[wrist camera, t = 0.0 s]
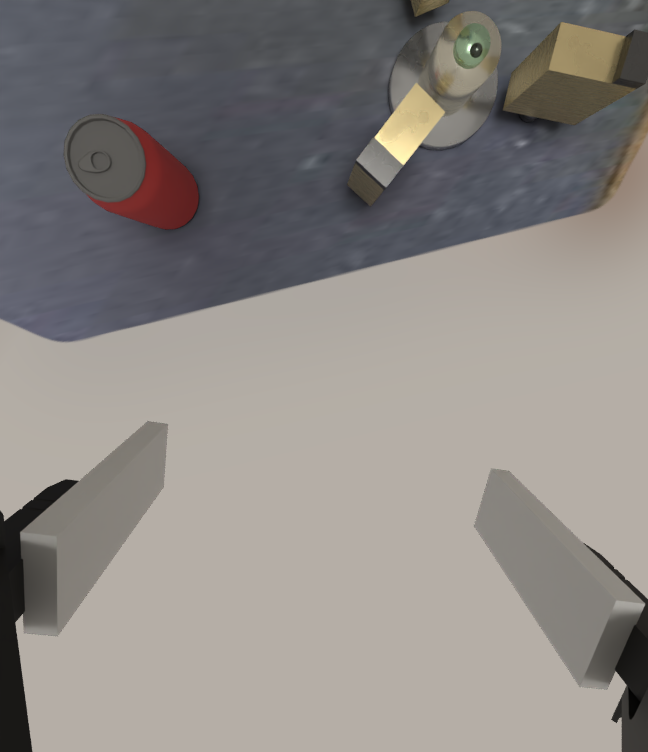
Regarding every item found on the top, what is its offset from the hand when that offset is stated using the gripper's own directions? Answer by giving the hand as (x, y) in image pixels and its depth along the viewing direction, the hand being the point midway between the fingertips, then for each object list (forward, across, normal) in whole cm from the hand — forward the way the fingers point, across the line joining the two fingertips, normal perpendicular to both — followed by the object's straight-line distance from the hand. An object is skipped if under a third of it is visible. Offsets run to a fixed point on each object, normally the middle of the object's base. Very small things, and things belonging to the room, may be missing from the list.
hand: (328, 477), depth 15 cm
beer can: (+28, -17, +13) cm, 36 cm away
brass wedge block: (+26, +3, +19) cm, 32 cm away
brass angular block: (+26, +17, +27) cm, 41 cm away
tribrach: (+28, +10, +27) cm, 40 cm away
